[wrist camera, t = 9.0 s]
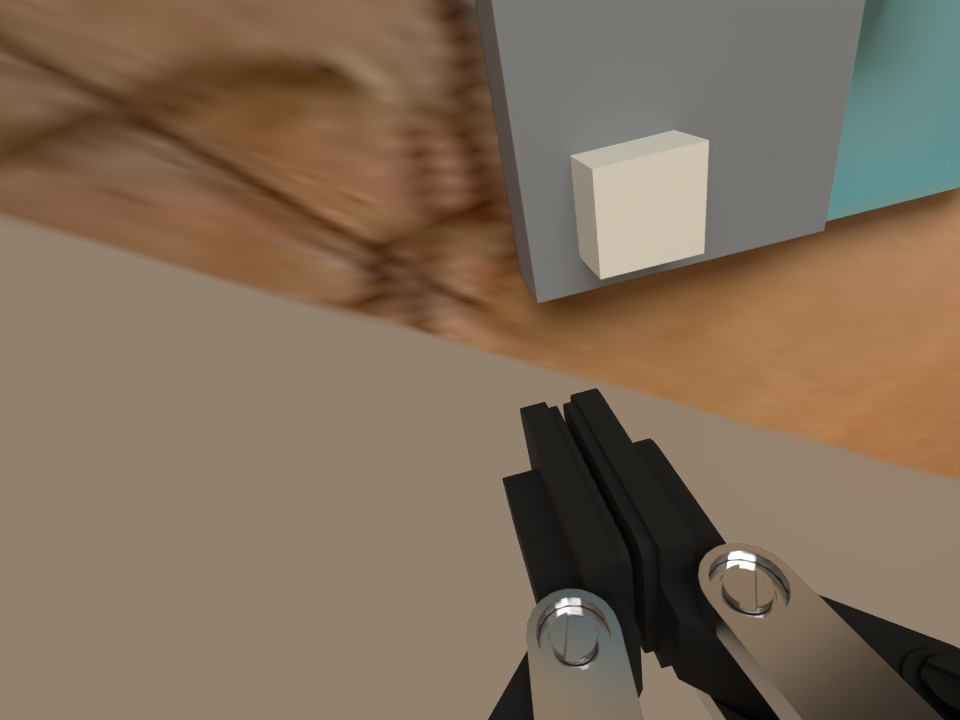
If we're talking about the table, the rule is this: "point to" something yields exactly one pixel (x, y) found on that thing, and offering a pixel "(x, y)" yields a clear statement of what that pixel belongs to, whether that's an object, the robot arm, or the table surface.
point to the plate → (668, 113)
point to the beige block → (641, 202)
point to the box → (900, 107)
